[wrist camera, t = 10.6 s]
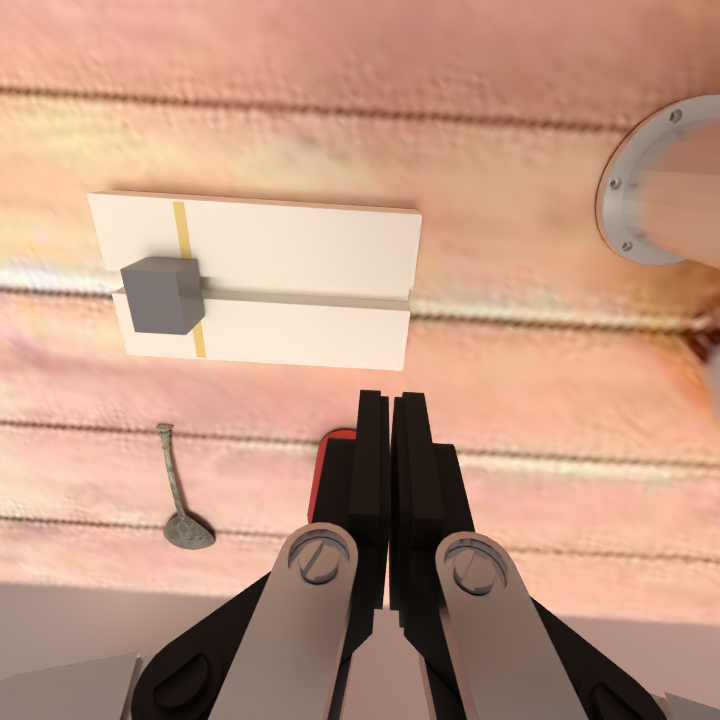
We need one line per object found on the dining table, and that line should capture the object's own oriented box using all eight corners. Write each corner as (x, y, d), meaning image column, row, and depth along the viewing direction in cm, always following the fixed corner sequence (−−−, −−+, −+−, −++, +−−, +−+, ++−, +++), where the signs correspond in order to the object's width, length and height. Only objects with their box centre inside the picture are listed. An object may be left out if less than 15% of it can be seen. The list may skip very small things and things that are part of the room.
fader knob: (207, 252, 34) (175, 272, 28) (214, 306, 36) (185, 335, 31) (161, 249, 34) (120, 269, 28) (171, 304, 36) (134, 332, 31)
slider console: (417, 209, 33) (422, 214, 30) (399, 353, 40) (402, 371, 37) (113, 189, 33) (86, 193, 30) (145, 339, 40) (126, 355, 36)
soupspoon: (175, 540, 56) (221, 540, 56) (165, 562, 53) (214, 562, 53) (139, 420, 45) (197, 421, 45) (124, 439, 42) (187, 440, 42)
